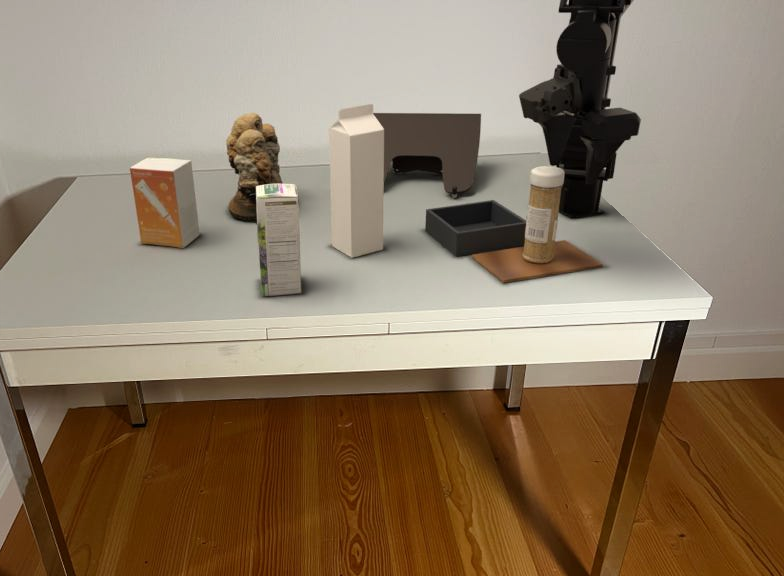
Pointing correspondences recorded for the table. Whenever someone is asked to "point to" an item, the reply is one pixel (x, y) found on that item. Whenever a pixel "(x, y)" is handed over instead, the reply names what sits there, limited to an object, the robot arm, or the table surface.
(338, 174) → the milk
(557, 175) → the sprinkles bottle
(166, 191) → the small box
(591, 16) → the robot arm
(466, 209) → the bin
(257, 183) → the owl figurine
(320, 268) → the table surface
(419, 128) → the laptop tray
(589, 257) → the brown wooden board
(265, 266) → the syrup box
